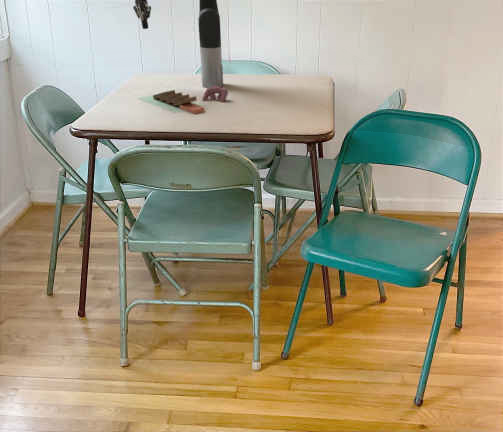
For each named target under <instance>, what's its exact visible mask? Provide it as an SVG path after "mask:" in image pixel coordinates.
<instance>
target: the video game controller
mask: <svg viewBox="0 0 503 432" xmlns="http://www.w3.org/2000/svg"><path fill="white" fill-rule="evenodd" d="M216 94H217V95H216ZM228 95H229V91H228V90H227V89H226V88H225V87H224V86H212V87H206V89H205V92H204V94H203V96H202V101H204V102H205V101H207V100H208V99H209V98H210V99H211V100H216V99H217V100H218V101H220V103H225V101H226V99H227V97H228Z"/></svg>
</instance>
